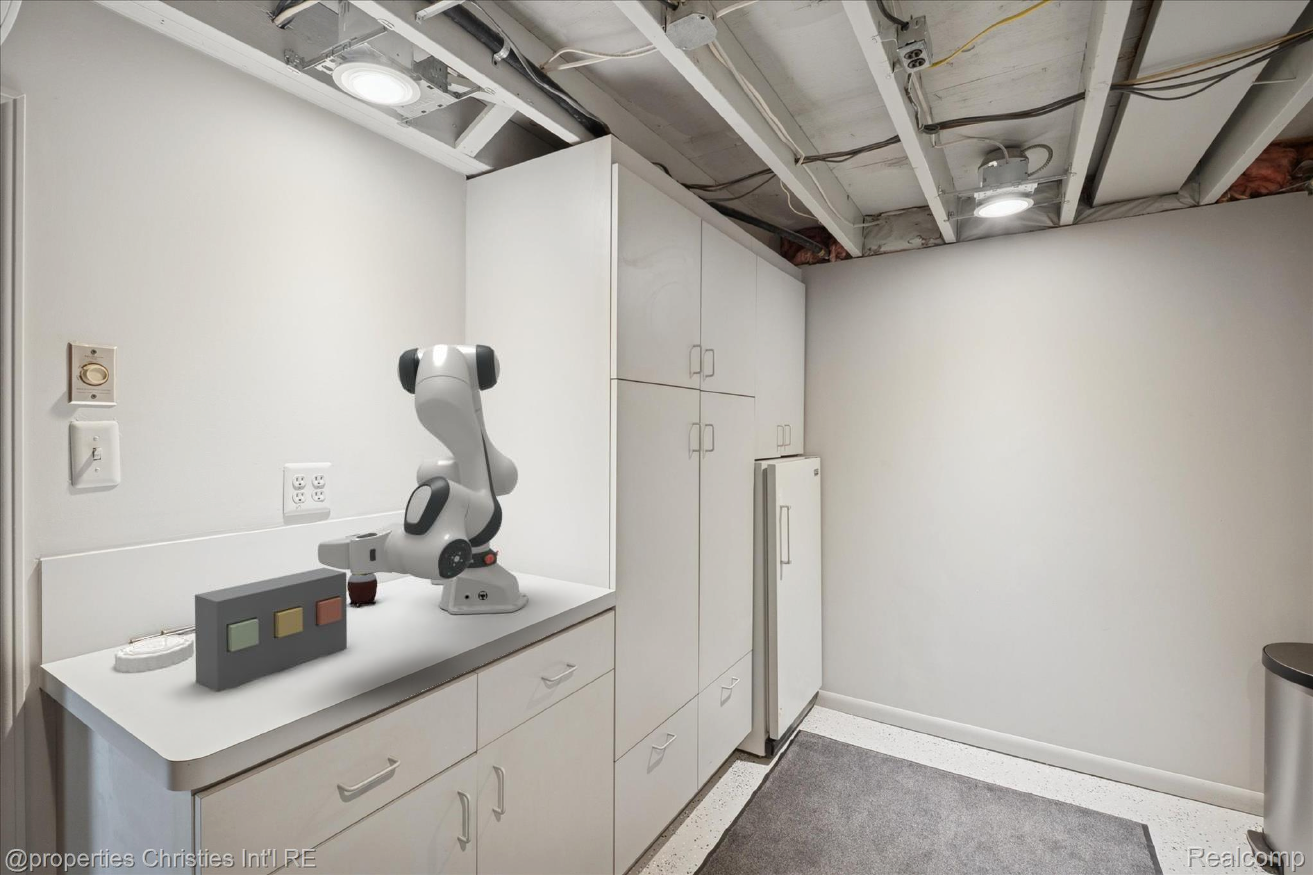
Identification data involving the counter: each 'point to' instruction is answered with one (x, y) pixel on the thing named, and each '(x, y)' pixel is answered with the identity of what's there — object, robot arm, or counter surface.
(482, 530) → the robot arm
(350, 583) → the mate gourd
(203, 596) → the console
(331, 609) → the button brick
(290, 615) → the button ochre
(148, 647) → the mooncake
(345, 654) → the counter surface
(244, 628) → the button sage
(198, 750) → the counter surface
